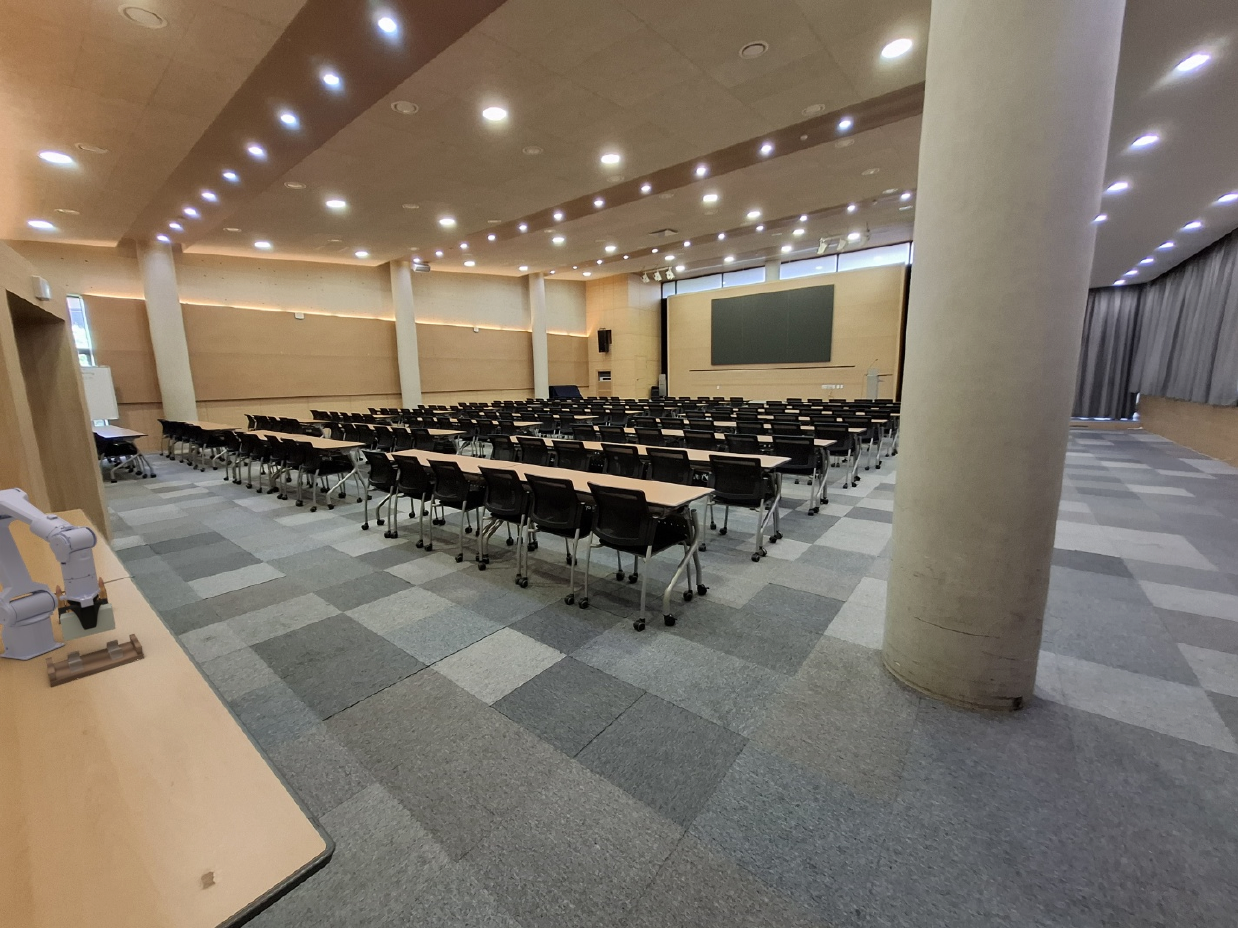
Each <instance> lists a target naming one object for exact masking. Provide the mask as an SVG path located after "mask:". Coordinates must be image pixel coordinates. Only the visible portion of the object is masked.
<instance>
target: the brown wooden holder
mask: <svg viewBox="0 0 1238 928" xmlns="http://www.w3.org/2000/svg"><path fill="white" fill-rule="evenodd" d="M66 658H67V659H64V660H61V661H58V662H54V663H53V657H52V656H50V657H46V658H45V663H46V668H47V674H48V679H49V683H50V688H54V687H56V686H59V685H64V684H66V683H69V682H72V680H73V681H76V680H78V679H77V678H79V679H81V678H85V676H86V677H89V676H92V675H95V674H98V673H101V672H105V671H107V670H111V669H114V668H117V667H120V665H121V666H124V665H126V664H130V663H133V662H132V661H134V660H137V659H140V660H143V659H145V656H144V652H143V646H142V644H141V642H140V640H139V638H138V637H137V636H136V634H135V633H131V634H129V641H127V642H124V643H120V644H119V641H118V639H114V640H110V641H107V642H106V648H103V649H99V650H95V651H91V652H89V653H85V654H81V655H80V651H79V650H76V651H72V652H69V653H66ZM142 658H143V659H142ZM137 661H138V660H137ZM134 662H135V661H134ZM88 675H89V676H88ZM75 679H76V680H75Z"/></svg>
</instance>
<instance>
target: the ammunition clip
mask: <svg viewBox="0 0 1238 928" xmlns="http://www.w3.org/2000/svg"><path fill="white" fill-rule="evenodd" d="M97 580H98V586H99V588H100V592H99V593H98V594H99V596H98V598H97V600H101V599H102V604H101V605H105V604H109V603H110V602H109V599H108V593H107V589H106V586H105V583H104V582H105V581H104V579H103V578H102V577H101V576H99V577H98V579H97ZM55 595H56V597H57V599H58V606H57V608H56V609H57V611H58V622H59V625H61V622H60V616H61V614H64V613H69V612H73V611H72V610H71V609H70V608H69V606H70V604H69V603H67V600H68V599H65V600H60V598H59V597H60V596H62V595H63V591H62V588H61V586H60V585H59V584H57V585H56V587H55ZM64 595H66V591H65V587H64Z"/></svg>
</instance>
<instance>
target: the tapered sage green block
mask: <svg viewBox="0 0 1238 928" xmlns="http://www.w3.org/2000/svg"><path fill="white" fill-rule="evenodd" d="M108 603H109V604H105V605H101V606H100V608H99V611H98V618H97V626H96V627H95V628H91V629H87V630H84V628H83V627H82V625H81V623H80V620H79V618H78V617H77V615H76V614H75V613H74V612H69V613H64V614H61V616H60V622H61V624H60V626H61V632H62V636H63V641H64V642H63V643H65V642H68V641H72V640H77V639H81V638H85V637H88V636H92V635H96V634H101V633H105V632H108V631H109V632H110V631H113V630H115V629H116V621H115V615H114V610H113V609H114V608H113V603H112V602H108Z"/></svg>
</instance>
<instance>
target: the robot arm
mask: <svg viewBox="0 0 1238 928" xmlns="http://www.w3.org/2000/svg"><path fill="white" fill-rule="evenodd" d="M16 520H18V521H20V522H22V523H24V524H27V525H29V531H30V532H31V533H32V534H34V535H35V536H37V537H39V538H40V539H42V540H43V541H45V542H47V543H48V544H49V548H50V550H51V551H52V552H53V554H54V556H55V560H56V562H59V564H60V568H61V573H62V574H61V576H62V580H63V584H64V588H65V589H64V592H65V591H66V595H65V594H64V595H62V596H60V597H59V598H60V600H65V599H68V600H67V603H69V604H70V606H69V608H70V609H71V610H72V611H73V612H74V613H75V614H76V615H77V617H78V618H79V620H80V623H81V625H82V627H83V628H84V630H87V629H91V628H95V627H96V626H97V618H98V611H99V608H100V606H101V604H102V599H101V600H97V598H98V596H99V592H100V588H99V585H98V580H99V579H98V576H97V569H96V564H95V558H94V554H93V548H95V547H96V546H97V543H98V538H97V534H96V532H95V531H94V530H93V529H92V528H91V527H90V526H87V525H86V526H80V525H78V526H75V525H74V524H72V523H70V522H69V521H67V520H65V519H64V518H62V517H60V516H59V515H57V514H52V513H49V514H48V513H47V514H45V513H44V512H43V511H41V510H40V509H39V508H38V507H36V506H35V505H33V503H31V502H30V497H29V495H28V493H27V492H25V491H24V490H22V489H21V488H19V487H12V488H8V489H3V490H0V585H1V588H2V591H0V625H2V626H3V627H2V629H1V632H0V635H1V640H2V644H3V650H4V653H1V654H0V657H1V658H9V659H15V660H21V661H22V660H23V661H28V660H31V659H32V658H35V657H37V656H38V657H39V656H40V655H43V654H46V653H48V652H51V651H54V650H56V649H59V648H60V647H64V646H65V645H66V644H65V642H56V639H55V636H54V631H53V625H52V619H51V616H53V615H54V612H55V611H56V610H57V609H58V608H57V606H58V599H57V597H56V593H54V592H53V591H52V590H51V589H50V586H49V585H48V584H47V583H42V582H37V581H34V580H33V579H32V577H31V575H30V572H29V570H28V567H27V564H26V563H25V561H24V559H23V557H22V554H21V552H20V550H19V548H18V546H17V543H16V542H15V539H14V536H13V535H12V532H11V531H10V528H9V526H10V525H11V523H12V522H14V521H16ZM28 594H29V595H28ZM23 595H26V596H23ZM21 596H22V597H21ZM18 597H19V598H18Z"/></svg>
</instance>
